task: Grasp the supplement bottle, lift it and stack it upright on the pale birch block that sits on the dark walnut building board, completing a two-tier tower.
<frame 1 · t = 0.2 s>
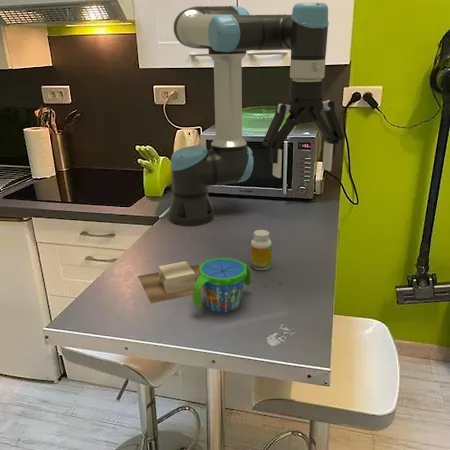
hand: (302, 173, 115), 27 cm above the counter, fingers open, 13 cm apart
snack cup: (223, 308, 110), on the counter
birch block: (177, 284, 118), point 1 cm above the counter, touching board
board: (176, 286, 119), on the counter
supplement bottle: (260, 266, 129), on the counter
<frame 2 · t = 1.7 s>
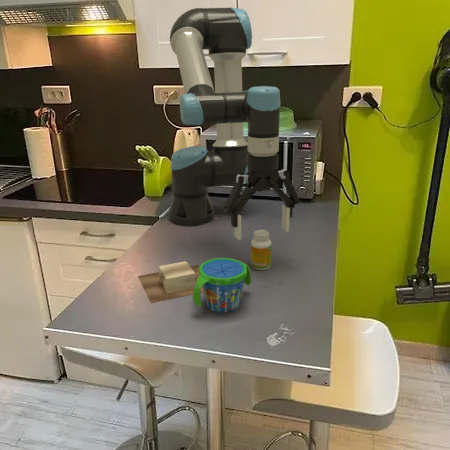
hand: (261, 234, 125), 9 cm above the counter, fingers open, 13 cm apart
nothing on the counter moved.
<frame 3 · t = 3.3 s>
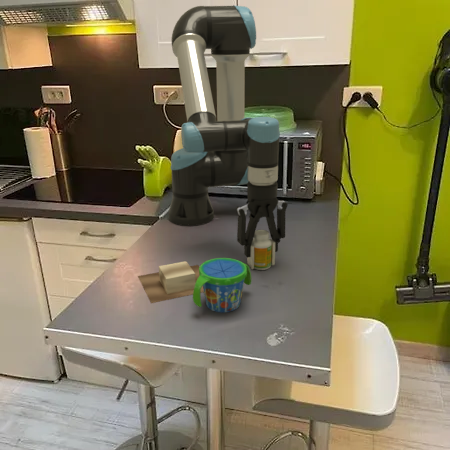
hand: (260, 264, 129), 0 cm above the counter, fingers closed on supplement bottle, 5 cm apart
supplement bottle: (260, 266, 129), on the counter, touching gripper
everything else where it was.
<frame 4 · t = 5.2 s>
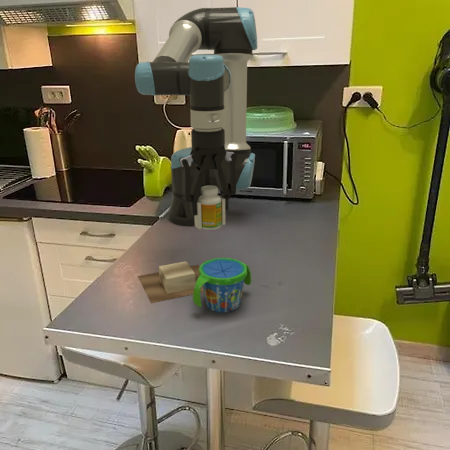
hand: (210, 224, 116), 15 cm above the counter, fingers closed on supplement bottle, 5 cm apart
supplement bottle: (210, 227, 116), point 15 cm above the counter, touching gripper
everything else where it was.
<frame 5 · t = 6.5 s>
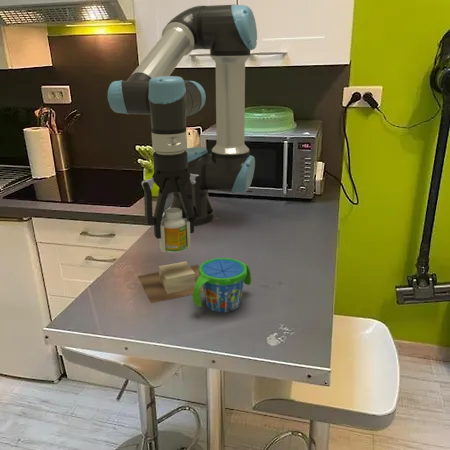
hand: (175, 247, 114), 11 cm above the counter, fingers closed on supplement bottle, 5 cm apart
supplement bottle: (175, 249, 114), point 11 cm above the counter, touching gripper
everything else where it was.
when the fingers open (7 cm above the counter, at t = 7.5 s): supplement bottle drops 1 cm, resting on birch block.
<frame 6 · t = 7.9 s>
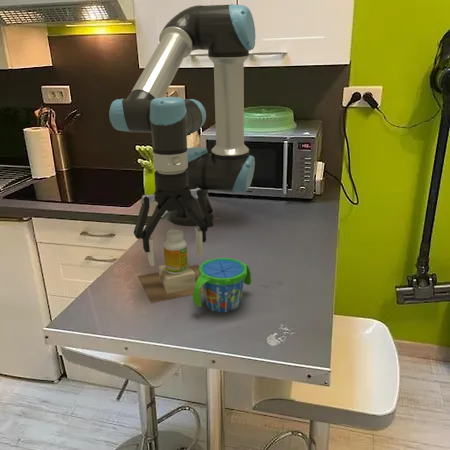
hand: (176, 258, 115), 8 cm above the counter, fingers open, 11 cm apart
birch block: (177, 284, 118), point 1 cm above the counter, touching board, supplement bottle
supplement bottle: (176, 270, 116), point 5 cm above the counter, touching birch block
everything else where it was.
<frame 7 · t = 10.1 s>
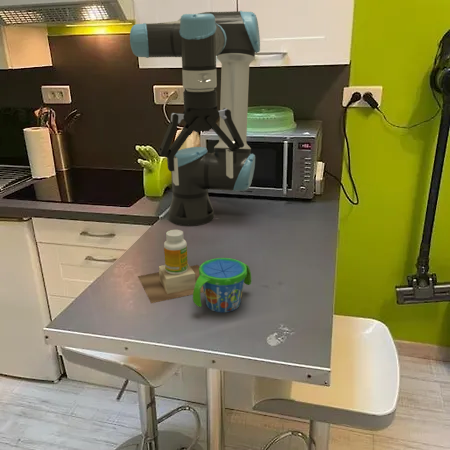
hand: (203, 180, 116), 25 cm above the counter, fingers open, 13 cm apart
nothing on the counter moved.
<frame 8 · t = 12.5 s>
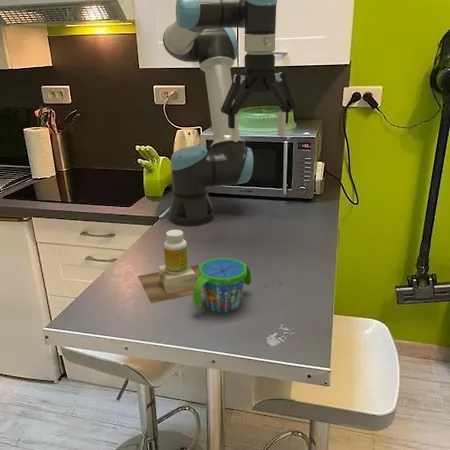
hand: (258, 138, 128), 32 cm above the counter, fingers open, 13 cm apart
nothing on the counter moved.
at the end: supplement bottle inside the target area on the birch block (0.0 cm from its centre), point 3.8 cm above the birch block's base; supplement bottle tilted 0°; the gripper is holding nothing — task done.
